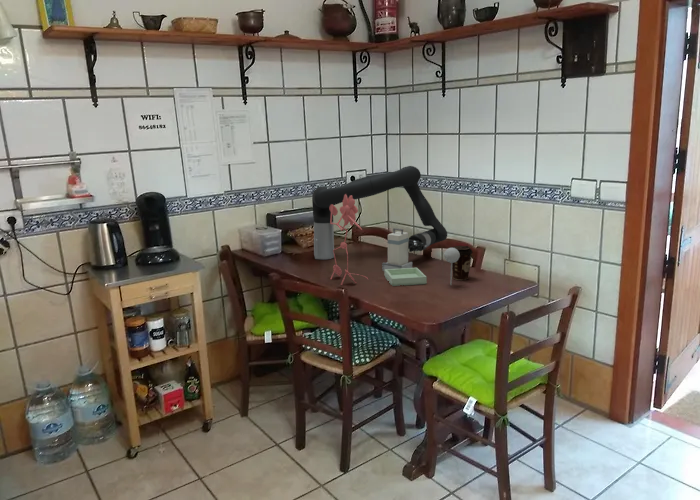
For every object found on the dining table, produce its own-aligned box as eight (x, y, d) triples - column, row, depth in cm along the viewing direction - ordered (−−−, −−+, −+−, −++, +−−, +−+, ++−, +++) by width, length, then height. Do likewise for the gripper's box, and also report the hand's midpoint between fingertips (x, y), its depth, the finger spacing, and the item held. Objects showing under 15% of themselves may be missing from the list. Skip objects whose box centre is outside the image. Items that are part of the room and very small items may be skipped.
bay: (400, 274, 230) (400, 266, 229) (382, 270, 236) (382, 263, 235) (412, 268, 238) (412, 261, 237) (394, 265, 244) (394, 258, 243)
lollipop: (449, 288, 211) (450, 250, 207) (439, 284, 216) (440, 247, 212) (461, 285, 213) (463, 248, 210) (452, 281, 218) (453, 245, 215)
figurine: (349, 291, 209) (350, 199, 201) (319, 275, 231) (319, 192, 223) (383, 285, 216) (385, 197, 208) (351, 270, 238) (351, 190, 230)
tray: (392, 286, 214) (392, 278, 213) (384, 276, 228) (384, 269, 227) (426, 284, 216) (426, 276, 215) (416, 274, 230) (417, 267, 229)
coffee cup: (472, 276, 226) (474, 245, 223) (470, 282, 218) (471, 250, 215) (451, 274, 228) (452, 244, 225) (448, 280, 221) (449, 249, 218)
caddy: (398, 272, 233) (398, 231, 228) (387, 270, 236) (387, 229, 232) (408, 268, 239) (408, 227, 235) (397, 266, 242) (397, 226, 238)
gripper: (406, 231, 254) (387, 237, 241) (433, 235, 245) (416, 241, 233) (406, 247, 255) (387, 254, 243) (433, 251, 247) (415, 258, 234)
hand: (401, 248), depth 238 cm, fingers open, 8 cm apart
